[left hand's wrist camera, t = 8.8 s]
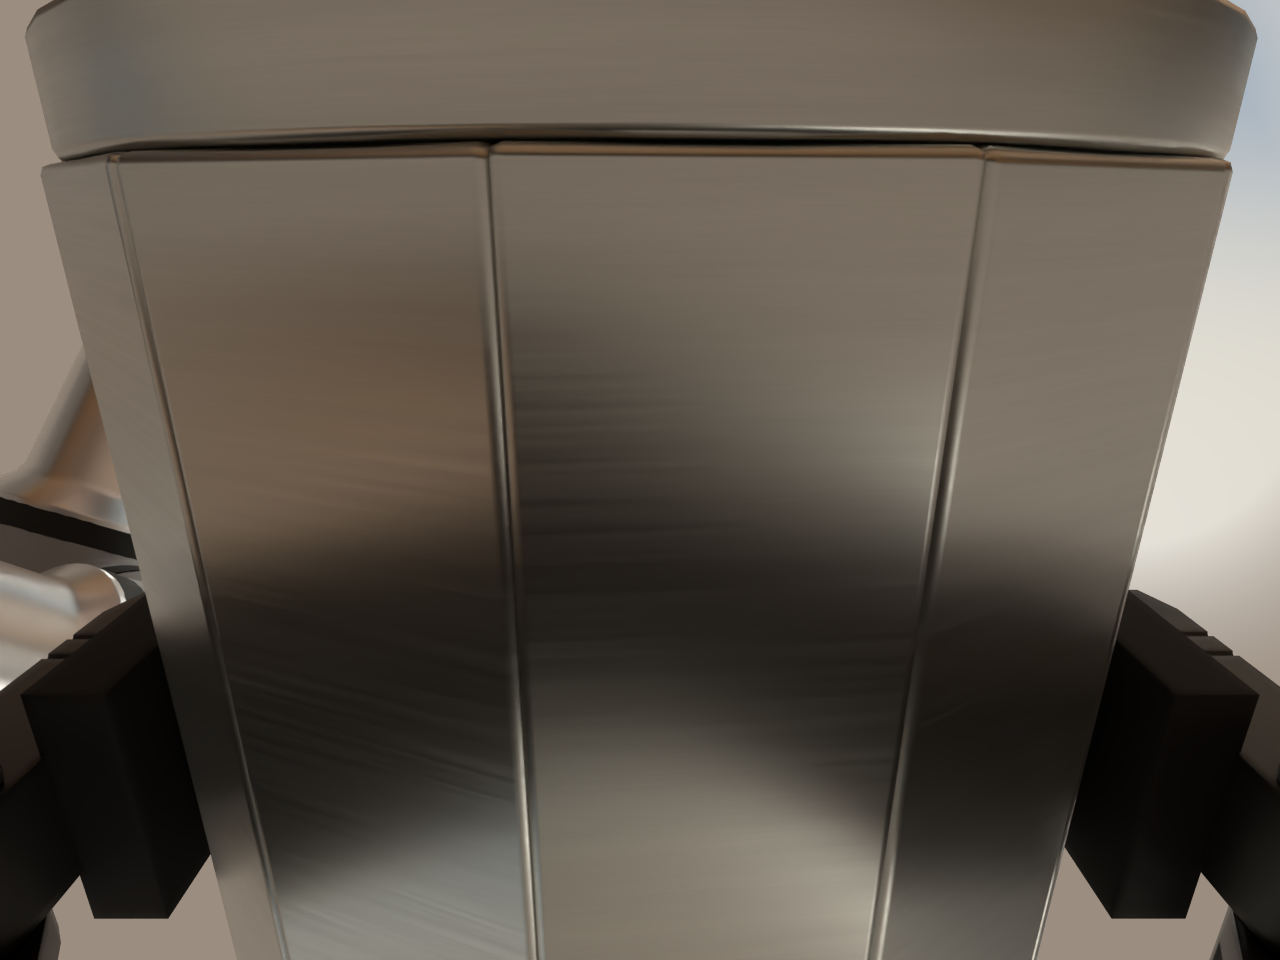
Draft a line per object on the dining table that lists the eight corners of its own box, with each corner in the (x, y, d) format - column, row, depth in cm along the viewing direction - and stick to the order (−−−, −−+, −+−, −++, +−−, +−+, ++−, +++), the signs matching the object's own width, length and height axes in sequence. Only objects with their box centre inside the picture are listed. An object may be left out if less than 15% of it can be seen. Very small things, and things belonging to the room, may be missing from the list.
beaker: (2024, -160, 2) (1126, 1602, 6) (1001, 128, 11) (904, 779, 15) (-555, -42, 3) (99, 1382, 8) (391, 134, 12) (453, 738, 16)
